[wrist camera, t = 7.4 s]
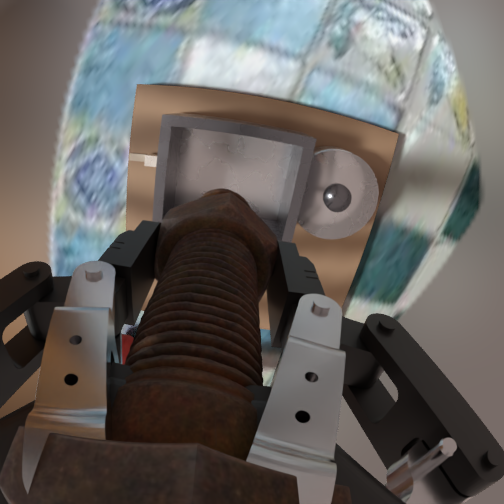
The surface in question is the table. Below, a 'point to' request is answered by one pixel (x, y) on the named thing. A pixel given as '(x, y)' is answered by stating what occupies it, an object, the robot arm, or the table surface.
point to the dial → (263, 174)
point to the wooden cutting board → (273, 114)
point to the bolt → (180, 380)
